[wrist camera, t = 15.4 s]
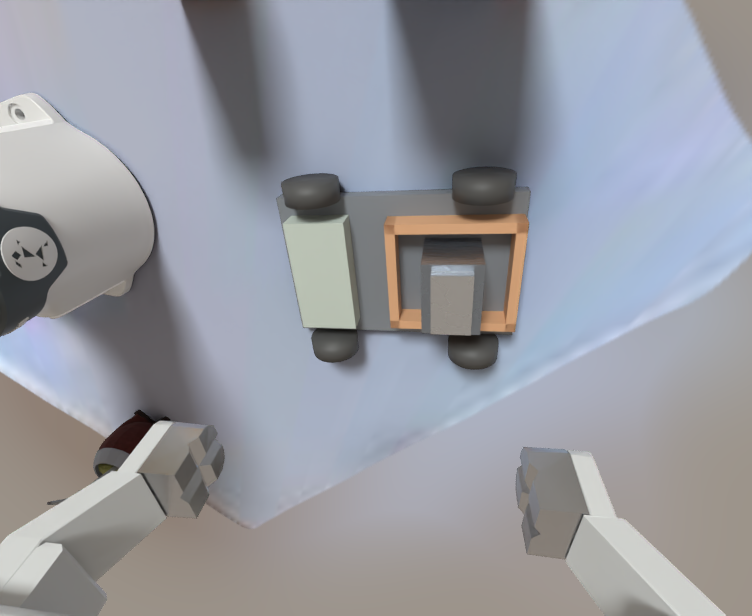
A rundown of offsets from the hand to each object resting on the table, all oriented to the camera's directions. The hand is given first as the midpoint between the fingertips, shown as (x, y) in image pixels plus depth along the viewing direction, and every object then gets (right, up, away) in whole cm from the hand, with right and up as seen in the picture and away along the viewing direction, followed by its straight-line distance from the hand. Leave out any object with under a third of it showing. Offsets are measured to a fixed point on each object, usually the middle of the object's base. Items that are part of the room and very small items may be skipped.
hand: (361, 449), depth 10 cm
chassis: (+3, +8, +25) cm, 26 cm away
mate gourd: (-30, -12, +44) cm, 54 cm away
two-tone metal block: (+7, +7, +23) cm, 25 cm away
